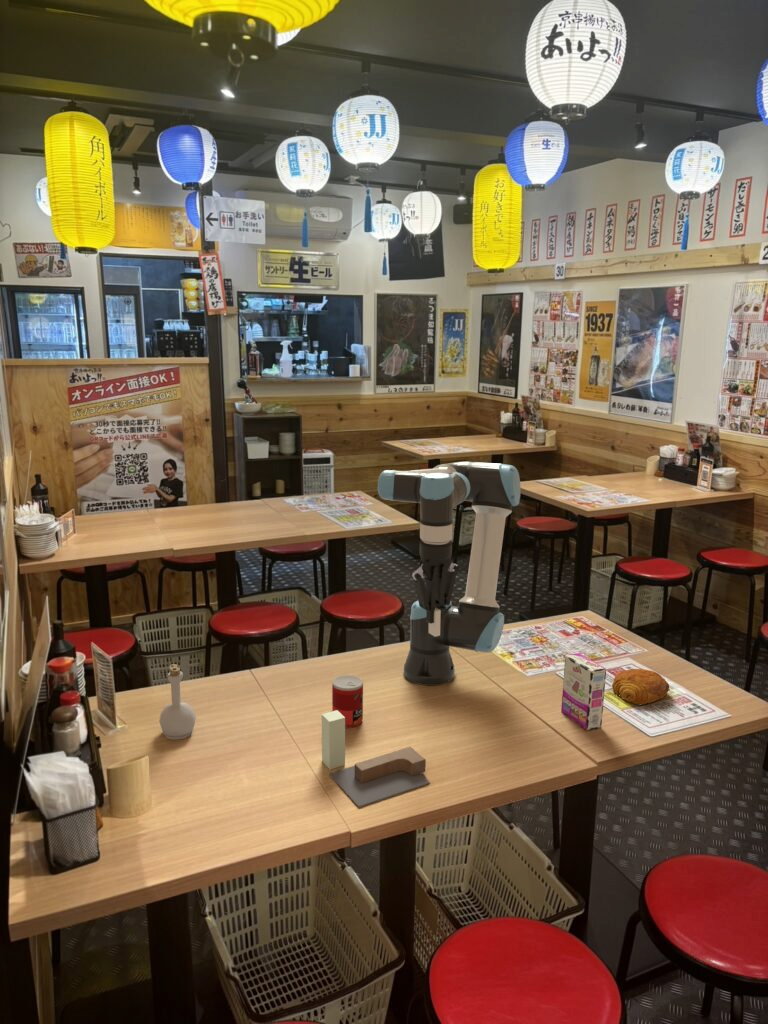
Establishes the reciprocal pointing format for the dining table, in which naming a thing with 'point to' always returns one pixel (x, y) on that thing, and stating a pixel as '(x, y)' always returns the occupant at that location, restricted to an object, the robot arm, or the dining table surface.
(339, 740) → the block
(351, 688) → the canned food
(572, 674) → the candy bar box
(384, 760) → the wooden block
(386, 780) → the mat
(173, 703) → the potion bottle
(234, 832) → the dining table surface
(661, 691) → the croissant
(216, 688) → the dining table surface
